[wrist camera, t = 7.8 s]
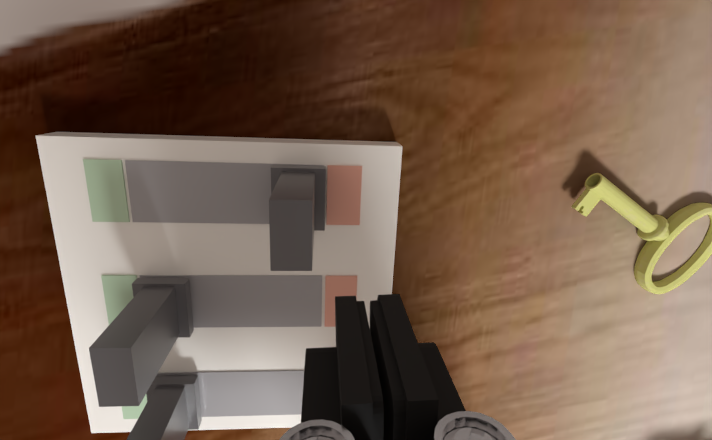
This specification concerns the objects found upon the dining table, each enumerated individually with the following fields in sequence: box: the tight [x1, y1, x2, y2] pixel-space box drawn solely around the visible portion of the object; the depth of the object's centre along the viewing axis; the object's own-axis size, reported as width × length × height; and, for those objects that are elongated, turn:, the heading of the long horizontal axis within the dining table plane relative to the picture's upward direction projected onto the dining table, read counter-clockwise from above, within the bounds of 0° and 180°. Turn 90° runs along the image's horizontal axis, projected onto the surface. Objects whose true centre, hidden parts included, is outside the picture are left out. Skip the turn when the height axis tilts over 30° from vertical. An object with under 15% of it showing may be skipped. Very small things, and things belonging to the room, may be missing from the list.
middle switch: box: [89, 278, 194, 407], centre depth 23 cm, size 3×4×7 cm
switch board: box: [36, 132, 402, 433], centre depth 27 cm, size 20×20×2 cm
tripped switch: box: [269, 165, 326, 271], centre depth 21 cm, size 3×4×7 cm
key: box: [571, 173, 712, 294], centre depth 29 cm, size 7×12×2 cm, turn 75°
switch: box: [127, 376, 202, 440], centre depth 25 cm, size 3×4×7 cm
